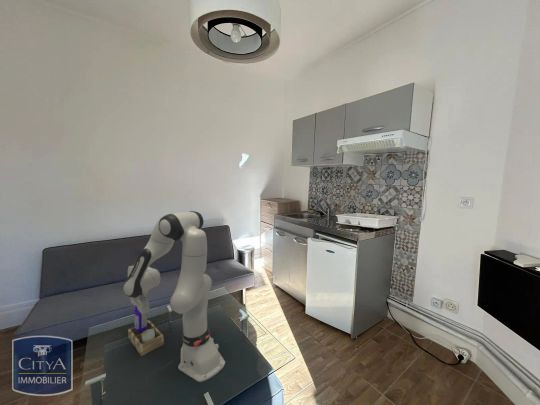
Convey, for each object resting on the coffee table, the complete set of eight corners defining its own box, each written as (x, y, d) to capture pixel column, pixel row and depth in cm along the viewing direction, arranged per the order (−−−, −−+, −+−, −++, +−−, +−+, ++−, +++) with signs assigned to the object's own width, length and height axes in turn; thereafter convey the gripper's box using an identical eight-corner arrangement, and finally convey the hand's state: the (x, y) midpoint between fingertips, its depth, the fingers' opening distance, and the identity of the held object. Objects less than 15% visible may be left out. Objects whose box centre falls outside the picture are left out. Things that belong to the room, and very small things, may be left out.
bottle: (148, 329, 127) (149, 298, 126) (137, 334, 122) (137, 301, 122) (143, 324, 131) (143, 294, 131) (132, 328, 127) (132, 297, 126)
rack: (164, 345, 122) (163, 335, 121) (141, 357, 114) (140, 346, 113) (150, 329, 135) (149, 320, 135) (129, 339, 127) (127, 329, 127)
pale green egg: (157, 344, 121) (156, 332, 121) (145, 351, 117) (143, 338, 116) (153, 339, 125) (152, 327, 125) (141, 345, 121) (139, 332, 120)
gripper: (152, 295, 120) (154, 320, 122) (138, 284, 134) (140, 306, 136) (138, 300, 116) (141, 326, 117) (126, 287, 130) (128, 311, 131)
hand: (140, 315), depth 127 cm, fingers closed on bottle, 7 cm apart
